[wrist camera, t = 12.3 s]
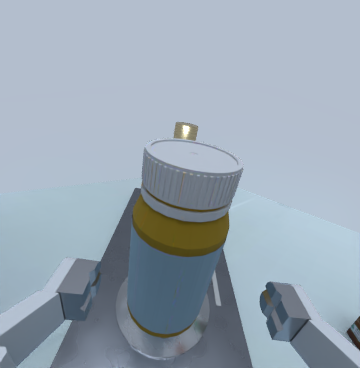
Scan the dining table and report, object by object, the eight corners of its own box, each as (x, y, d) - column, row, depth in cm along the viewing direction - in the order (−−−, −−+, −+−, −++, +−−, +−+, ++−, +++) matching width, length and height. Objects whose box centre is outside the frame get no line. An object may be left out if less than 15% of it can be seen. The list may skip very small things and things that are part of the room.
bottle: (163, 258, 23) (185, 134, 16) (212, 299, 19) (266, 162, 13) (111, 298, 18) (112, 141, 11) (164, 365, 14) (214, 191, 7)
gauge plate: (48, 383, 13) (-17, 198, 6) (135, 193, 37) (140, 111, 31) (253, 400, 14) (388, 255, 7) (209, 204, 38) (230, 127, 31)
